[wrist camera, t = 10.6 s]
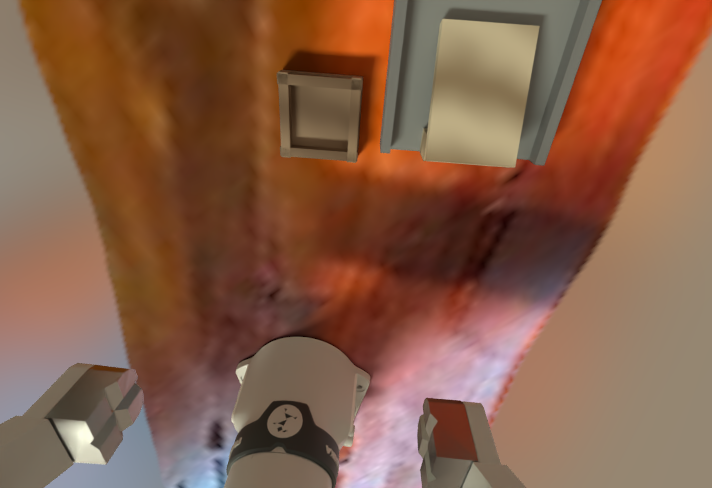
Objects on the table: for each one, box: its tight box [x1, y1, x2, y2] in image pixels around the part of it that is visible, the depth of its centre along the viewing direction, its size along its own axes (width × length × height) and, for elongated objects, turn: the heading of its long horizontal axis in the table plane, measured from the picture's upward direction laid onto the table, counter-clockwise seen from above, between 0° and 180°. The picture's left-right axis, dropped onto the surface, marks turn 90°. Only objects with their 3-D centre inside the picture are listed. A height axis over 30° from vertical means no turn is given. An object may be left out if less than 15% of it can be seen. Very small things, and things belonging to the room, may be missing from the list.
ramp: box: [420, 19, 540, 168], centre depth 27 cm, size 10×7×4 cm
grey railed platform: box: [380, 0, 602, 165], centre depth 28 cm, size 14×14×3 cm
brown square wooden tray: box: [277, 70, 363, 163], centre depth 31 cm, size 7×7×2 cm
